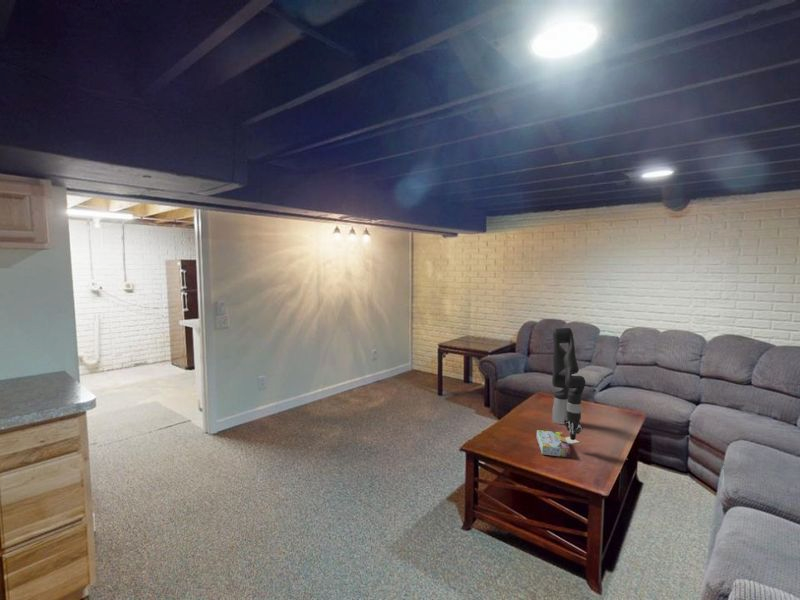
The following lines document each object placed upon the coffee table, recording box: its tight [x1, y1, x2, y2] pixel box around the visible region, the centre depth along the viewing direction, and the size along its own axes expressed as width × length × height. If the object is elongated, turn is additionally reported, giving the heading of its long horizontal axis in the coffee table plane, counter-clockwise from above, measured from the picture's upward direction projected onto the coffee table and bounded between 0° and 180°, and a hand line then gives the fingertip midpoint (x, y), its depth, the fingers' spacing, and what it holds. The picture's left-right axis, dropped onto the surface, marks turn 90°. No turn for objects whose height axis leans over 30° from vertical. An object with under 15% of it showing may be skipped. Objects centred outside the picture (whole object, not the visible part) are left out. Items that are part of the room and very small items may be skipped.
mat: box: [564, 436, 581, 446], centre depth 240 cm, size 8×24×1 cm, turn 110°
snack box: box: [536, 429, 571, 458], centre depth 232 cm, size 21×6×15 cm
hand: (572, 439), depth 229 cm, fingers closed
